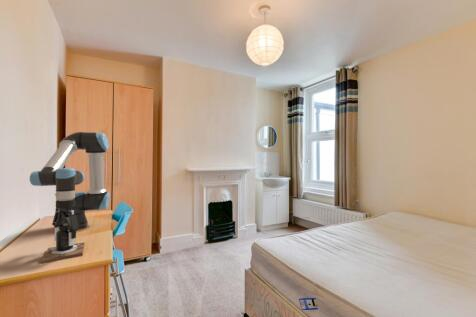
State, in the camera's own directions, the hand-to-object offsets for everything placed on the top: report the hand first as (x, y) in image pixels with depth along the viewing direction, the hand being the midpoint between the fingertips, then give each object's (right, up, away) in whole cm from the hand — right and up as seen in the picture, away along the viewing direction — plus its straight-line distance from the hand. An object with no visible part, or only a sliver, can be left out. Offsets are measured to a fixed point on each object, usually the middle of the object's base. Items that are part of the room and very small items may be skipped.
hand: (65, 242), depth 109 cm
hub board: (0, -5, 0) cm, 5 cm away
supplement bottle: (0, -3, 0) cm, 3 cm away
